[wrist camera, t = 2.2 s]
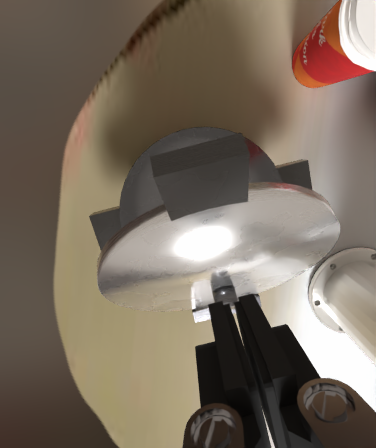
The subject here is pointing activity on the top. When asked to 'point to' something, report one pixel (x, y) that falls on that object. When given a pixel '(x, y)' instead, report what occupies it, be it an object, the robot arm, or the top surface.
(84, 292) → the top surface
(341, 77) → the paper cup
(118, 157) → the top surface
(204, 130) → the cooker pot
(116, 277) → the cooker lid
